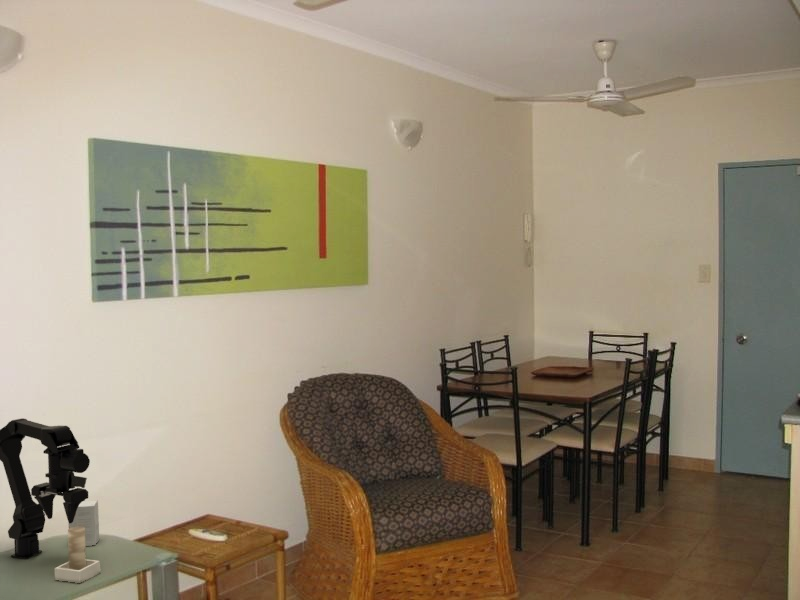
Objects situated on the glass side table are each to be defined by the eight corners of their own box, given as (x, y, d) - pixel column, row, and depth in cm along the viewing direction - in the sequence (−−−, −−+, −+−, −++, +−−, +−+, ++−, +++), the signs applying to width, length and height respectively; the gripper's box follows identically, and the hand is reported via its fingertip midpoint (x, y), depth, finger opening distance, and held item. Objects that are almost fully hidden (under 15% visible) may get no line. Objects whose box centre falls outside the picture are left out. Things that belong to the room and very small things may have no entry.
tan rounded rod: (65, 575, 231) (64, 530, 231) (76, 570, 236) (75, 525, 235) (78, 577, 230) (77, 531, 230) (89, 571, 234) (88, 527, 234)
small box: (99, 539, 265) (98, 500, 265) (95, 546, 259) (94, 505, 258) (73, 541, 264) (72, 501, 263) (68, 547, 258) (67, 507, 257)
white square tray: (54, 580, 230) (54, 568, 230) (76, 569, 238) (75, 557, 238) (79, 583, 227) (79, 571, 227) (100, 572, 235) (100, 561, 235)
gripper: (102, 466, 245) (103, 517, 245) (60, 460, 254) (62, 509, 254) (71, 474, 235) (73, 528, 236) (29, 468, 244) (30, 519, 245)
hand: (60, 520), depth 243 cm, fingers open, 9 cm apart
